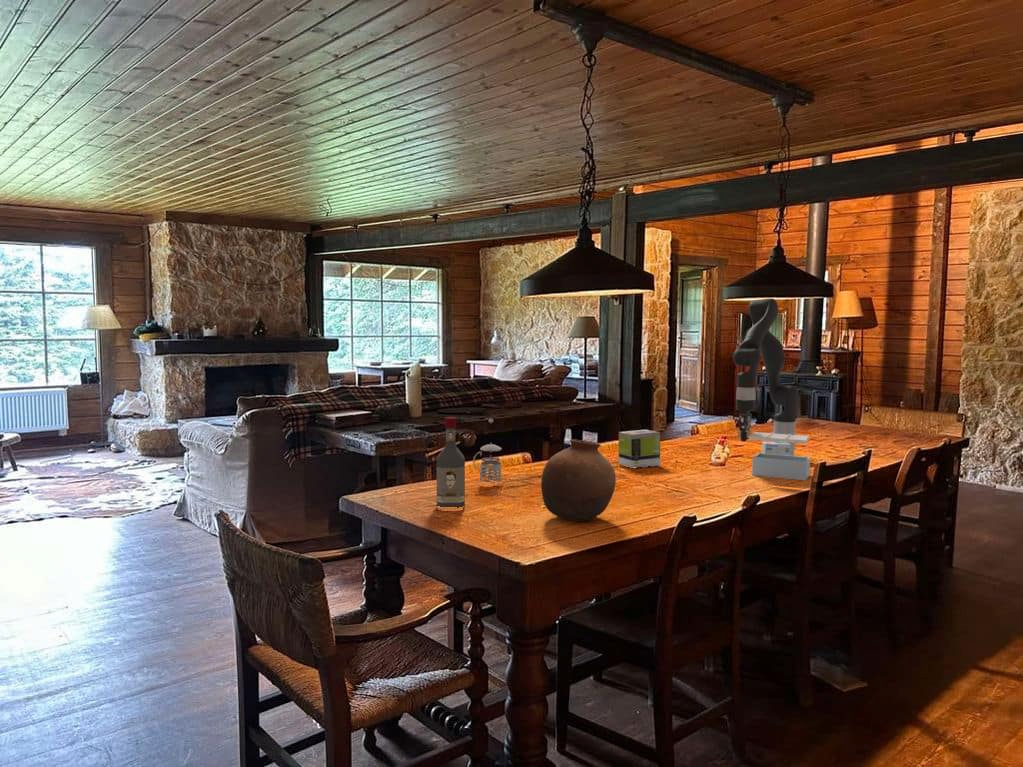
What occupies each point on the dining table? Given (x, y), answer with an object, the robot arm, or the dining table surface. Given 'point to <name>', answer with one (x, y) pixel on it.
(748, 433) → the lid
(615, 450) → the dining table surface
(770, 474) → the tub
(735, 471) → the dining table surface
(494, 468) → the french press
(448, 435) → the liquor
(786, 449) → the light bulb box
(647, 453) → the tea box
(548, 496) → the pottery
